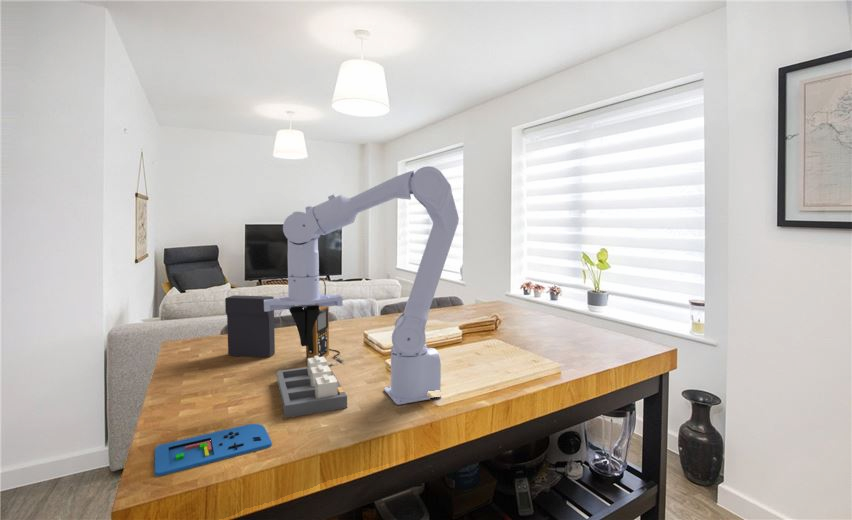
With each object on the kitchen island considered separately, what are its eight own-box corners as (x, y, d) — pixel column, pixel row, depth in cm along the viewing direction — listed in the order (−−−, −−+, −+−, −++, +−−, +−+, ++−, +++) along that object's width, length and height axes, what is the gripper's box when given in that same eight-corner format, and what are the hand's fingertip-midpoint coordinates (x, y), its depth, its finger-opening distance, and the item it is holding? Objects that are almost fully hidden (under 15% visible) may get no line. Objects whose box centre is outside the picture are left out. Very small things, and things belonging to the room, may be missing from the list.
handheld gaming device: (272, 441, 63) (154, 472, 55) (272, 448, 63) (154, 480, 55) (261, 419, 70) (155, 443, 62) (261, 425, 70) (155, 451, 62)
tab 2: (327, 381, 86) (327, 362, 85) (331, 388, 82) (331, 368, 82) (310, 384, 84) (310, 365, 84) (313, 391, 81) (312, 370, 81)
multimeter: (338, 371, 95) (337, 284, 93) (298, 368, 97) (296, 282, 95) (361, 352, 109) (361, 276, 108) (325, 349, 111) (324, 275, 109)
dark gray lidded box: (276, 353, 107) (275, 295, 106) (268, 358, 103) (267, 298, 102) (236, 351, 109) (234, 294, 107) (226, 356, 104) (224, 297, 103)
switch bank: (328, 374, 93) (328, 364, 93) (347, 407, 76) (347, 395, 76) (277, 381, 89) (277, 370, 89) (285, 418, 72) (284, 405, 72)
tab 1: (324, 372, 91) (324, 354, 91) (327, 377, 88) (327, 359, 88) (307, 374, 90) (307, 356, 89) (310, 380, 87) (310, 361, 86)
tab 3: (333, 392, 80) (333, 372, 80) (337, 400, 77) (337, 379, 77) (315, 395, 79) (314, 375, 78) (318, 403, 75) (318, 381, 75)
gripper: (337, 271, 87) (337, 335, 88) (262, 274, 81) (264, 343, 82) (344, 275, 80) (345, 344, 81) (264, 279, 74) (266, 353, 76)
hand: (304, 344), depth 81 cm, fingers closed
